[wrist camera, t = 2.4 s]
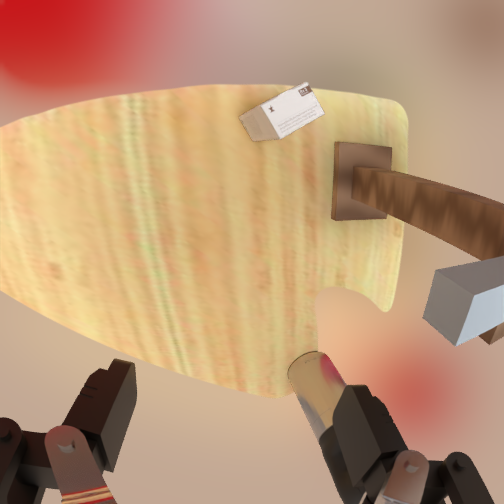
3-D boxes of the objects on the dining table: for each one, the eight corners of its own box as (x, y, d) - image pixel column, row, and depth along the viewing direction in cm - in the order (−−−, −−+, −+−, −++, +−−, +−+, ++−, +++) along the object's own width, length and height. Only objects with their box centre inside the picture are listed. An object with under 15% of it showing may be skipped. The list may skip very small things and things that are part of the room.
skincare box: (253, 142, 39) (280, 144, 28) (236, 115, 37) (257, 106, 26) (289, 121, 39) (328, 117, 28) (274, 94, 37) (307, 80, 26)
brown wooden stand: (381, 216, 48) (544, 308, 18) (316, 218, 45) (489, 344, 15) (386, 146, 44) (573, 191, 13) (319, 140, 41) (534, 177, 11)
